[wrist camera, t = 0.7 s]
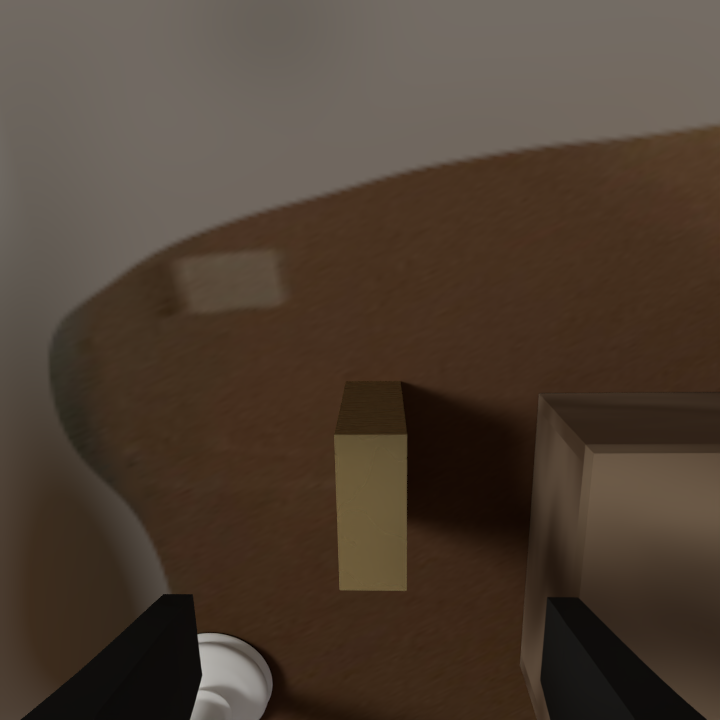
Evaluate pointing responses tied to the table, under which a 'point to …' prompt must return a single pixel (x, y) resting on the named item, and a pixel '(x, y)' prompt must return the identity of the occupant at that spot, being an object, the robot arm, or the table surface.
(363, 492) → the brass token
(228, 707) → the chess piece
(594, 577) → the beige block with hole
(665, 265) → the table surface
